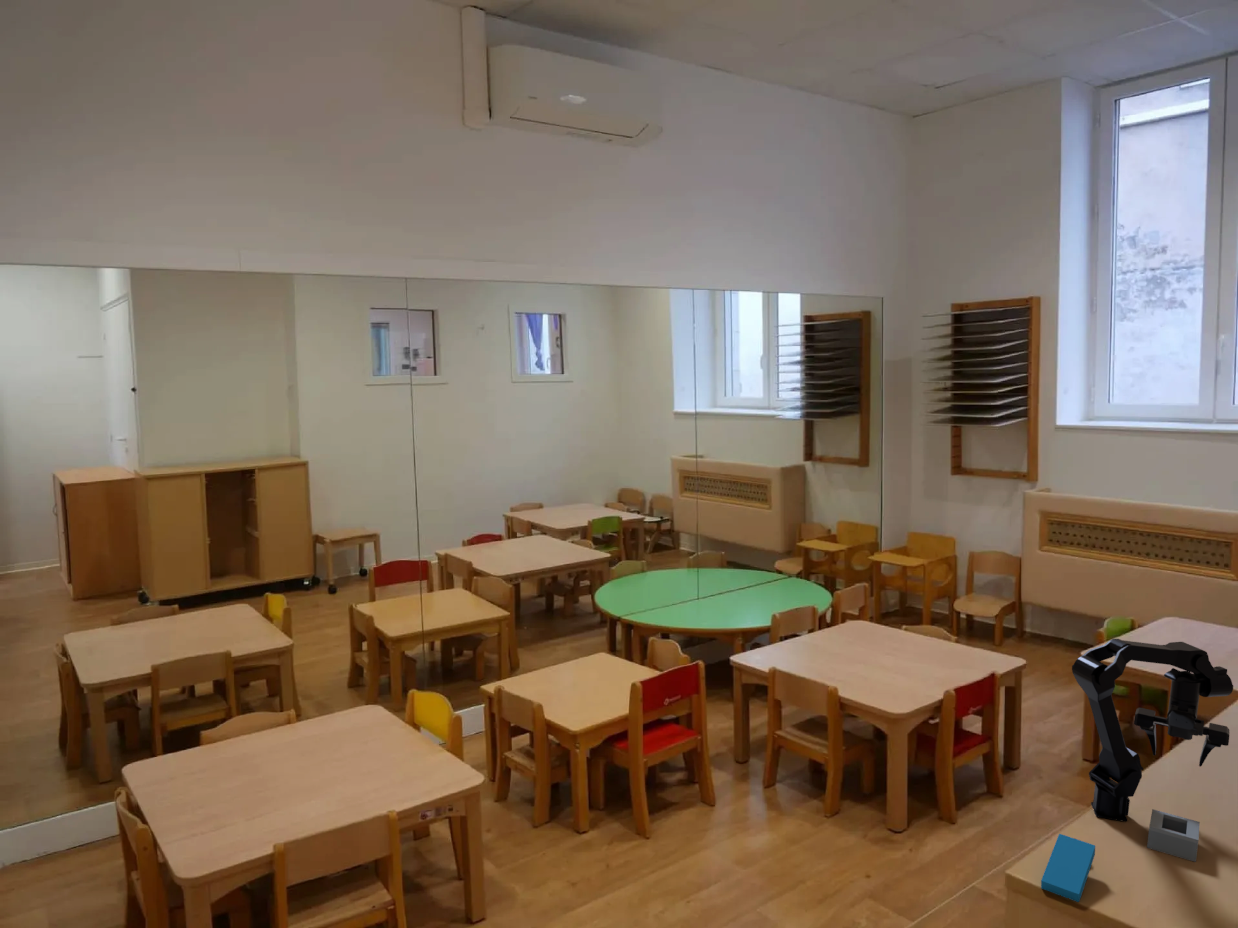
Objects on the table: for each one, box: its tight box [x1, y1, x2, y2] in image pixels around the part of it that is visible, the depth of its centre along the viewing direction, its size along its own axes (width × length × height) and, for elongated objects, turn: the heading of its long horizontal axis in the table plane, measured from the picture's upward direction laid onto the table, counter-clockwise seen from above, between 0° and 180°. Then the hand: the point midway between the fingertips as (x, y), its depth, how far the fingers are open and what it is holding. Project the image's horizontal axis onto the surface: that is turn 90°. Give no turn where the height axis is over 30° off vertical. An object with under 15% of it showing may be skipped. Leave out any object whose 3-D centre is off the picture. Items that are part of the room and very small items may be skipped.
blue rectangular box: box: [1040, 833, 1096, 903], centre depth 183 cm, size 7×7×18 cm
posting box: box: [1146, 808, 1201, 863], centre depth 194 cm, size 9×9×5 cm
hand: (1176, 760), depth 209 cm, fingers open, 9 cm apart
